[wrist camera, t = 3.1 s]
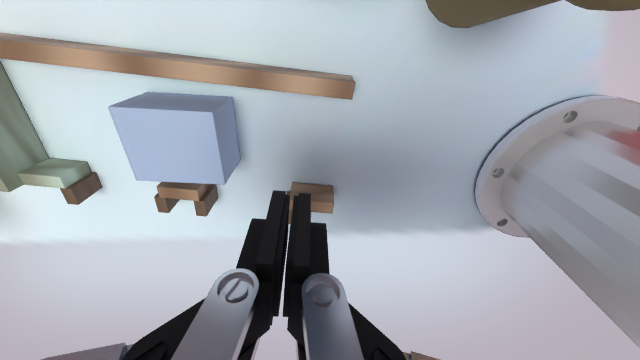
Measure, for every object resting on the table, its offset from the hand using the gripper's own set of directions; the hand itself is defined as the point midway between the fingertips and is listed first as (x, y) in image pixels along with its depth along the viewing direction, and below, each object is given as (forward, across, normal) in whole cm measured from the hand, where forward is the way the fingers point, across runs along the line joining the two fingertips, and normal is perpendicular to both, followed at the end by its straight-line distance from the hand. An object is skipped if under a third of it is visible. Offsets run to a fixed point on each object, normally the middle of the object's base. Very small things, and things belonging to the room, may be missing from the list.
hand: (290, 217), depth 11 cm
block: (+10, +8, 0) cm, 13 cm away
